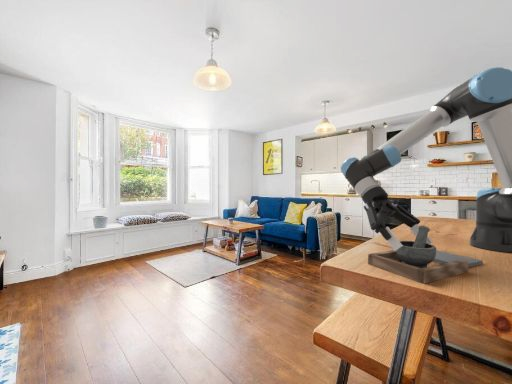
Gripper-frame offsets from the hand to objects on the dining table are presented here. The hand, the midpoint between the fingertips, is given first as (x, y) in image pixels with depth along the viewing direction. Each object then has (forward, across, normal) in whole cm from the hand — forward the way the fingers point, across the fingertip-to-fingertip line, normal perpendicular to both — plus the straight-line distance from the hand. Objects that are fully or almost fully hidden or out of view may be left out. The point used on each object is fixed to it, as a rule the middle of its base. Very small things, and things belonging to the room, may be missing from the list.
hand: (414, 246), depth 69 cm
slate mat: (+4, -18, -5) cm, 19 cm away
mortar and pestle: (+5, 0, -4) cm, 6 cm away
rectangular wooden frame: (+4, 0, -4) cm, 6 cm away
